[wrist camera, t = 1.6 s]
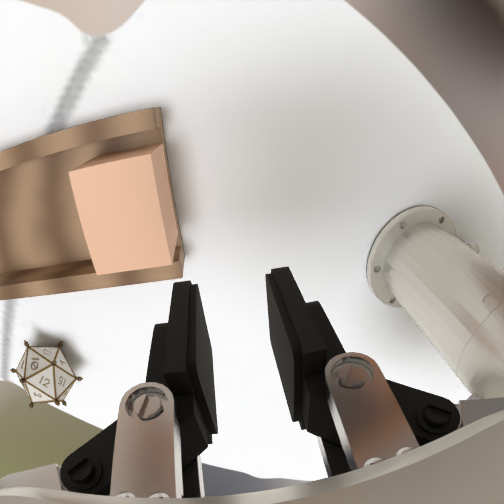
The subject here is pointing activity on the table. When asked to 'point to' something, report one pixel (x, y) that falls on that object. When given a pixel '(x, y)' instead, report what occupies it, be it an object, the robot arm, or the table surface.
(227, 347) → the table surface
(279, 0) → the table surface
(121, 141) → the chute
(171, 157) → the table surface
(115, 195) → the block
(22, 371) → the game die
